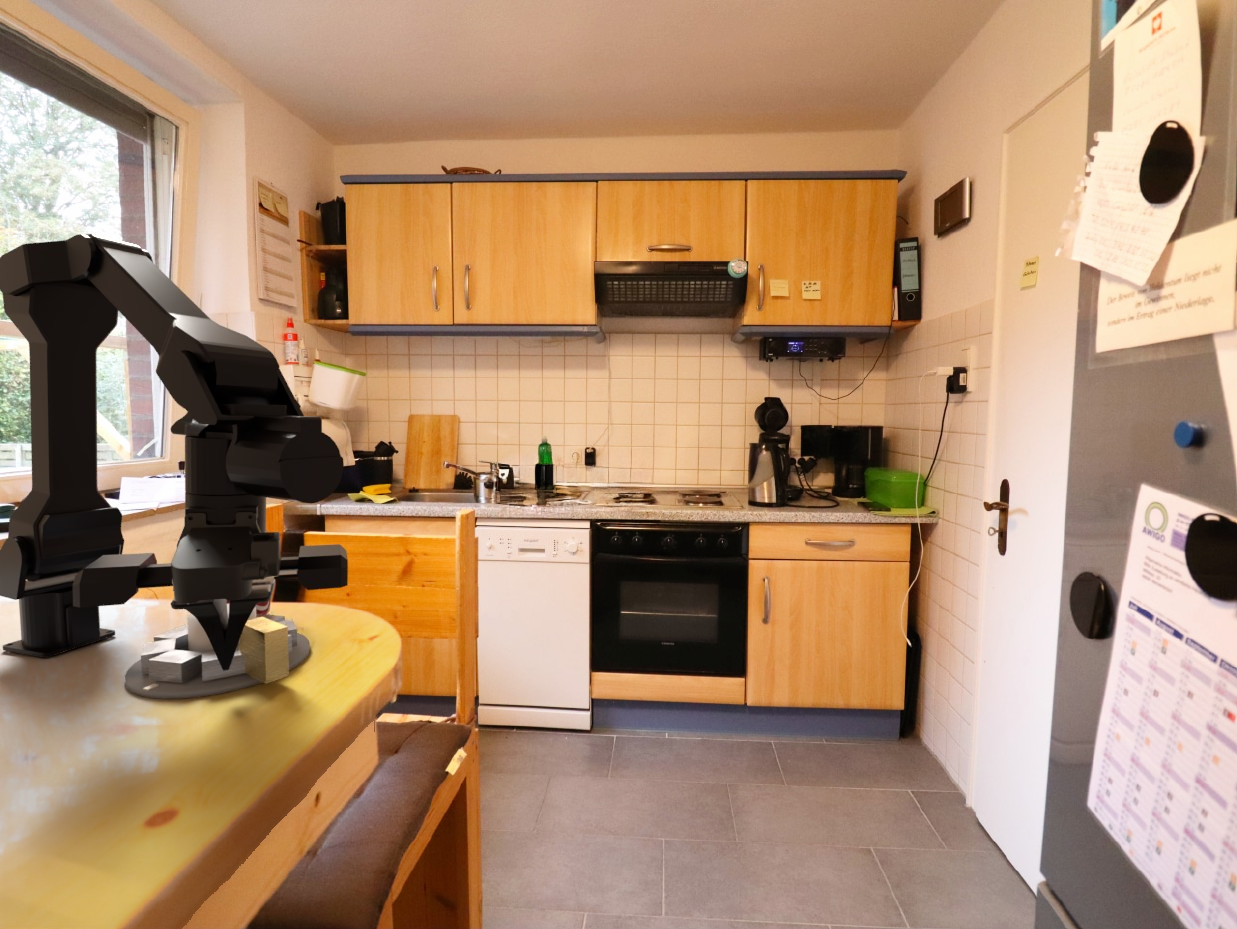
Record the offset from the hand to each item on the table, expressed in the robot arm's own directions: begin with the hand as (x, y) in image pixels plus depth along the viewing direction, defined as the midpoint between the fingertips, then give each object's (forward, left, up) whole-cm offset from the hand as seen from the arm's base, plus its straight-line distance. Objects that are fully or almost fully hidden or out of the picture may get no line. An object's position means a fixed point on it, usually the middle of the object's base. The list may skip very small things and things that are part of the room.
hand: (227, 668), depth 50 cm
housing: (-7, +5, -3) cm, 9 cm away
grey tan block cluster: (-5, +5, -2) cm, 7 cm away
